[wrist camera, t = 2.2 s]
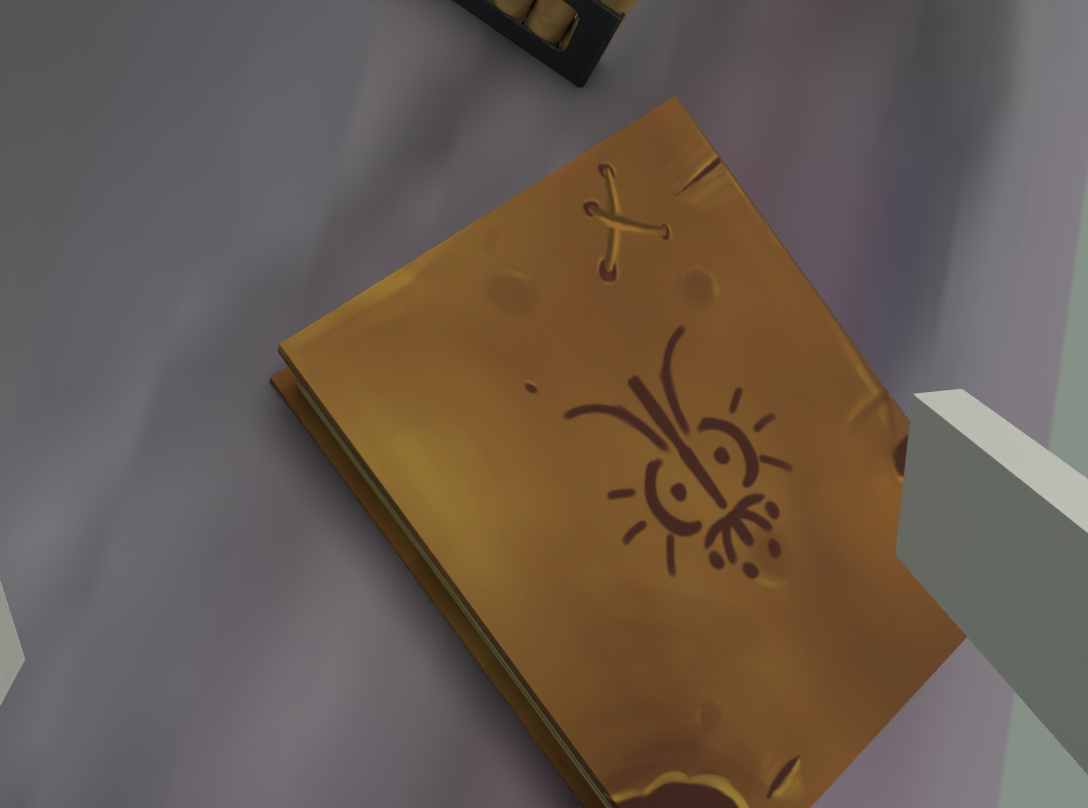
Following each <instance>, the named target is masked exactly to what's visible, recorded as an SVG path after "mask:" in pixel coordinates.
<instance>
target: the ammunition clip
mask: <svg viewBox="0 0 1088 808" xmlns="http://www.w3.org/2000/svg"><path fill="white" fill-rule="evenodd" d="M453 1H454V2H456V3H457V4H459V5H460V6H462V7H463V8H465V9H466V10H467V11H469V12H470V13H472V14H473V15H475V16H476V17H478V18H479V19H480V20H482V21H483V22H485V23H486V24H488V25H489V26H491V27H492V28H493V29H495V30H496V31H498V32H499V33H501V34H502V35H504V36H505V37H506V38H508V39H509V40H511V41H512V42H514V43H515V44H517V45H518V46H519V47H521V48H522V49H524V50H525V51H527V52H528V53H530V54H531V55H532V56H534V57H535V58H537V59H538V60H540V61H541V62H543V63H544V64H545V65H547V66H548V67H550V68H551V69H553V70H554V71H556V72H557V73H558V74H560V75H561V76H563V77H564V78H566V79H567V80H569V81H570V82H571V83H573V84H574V85H576V86H577V87H580V86H584V85H585V83H586V81H587V80H588V78H589V76H590V75H591V73H592V71H593V70H594V68H595V66H596V65H597V63H598V61H599V60H600V58H601V56H602V55H603V53H604V51H605V49H606V48H607V46H608V44H609V43H610V41H611V40H612V38H613V37H614V35H615V34H616V32H617V31H618V29H619V28H620V27H621V25H622V24H623V22H624V21H625V19H626V18H627V16H628V15H629V13H630V12H631V10H632V9H633V8H634V6H635V5H636V3H637V2H638V0H453ZM576 14H578V15H577V17H576V19H575V18H574V17H575V16H576Z"/></svg>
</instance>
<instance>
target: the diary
mask: <svg viewBox="0 0 1088 808" xmlns="http://www.w3.org/2000/svg"><path fill="white" fill-rule="evenodd" d="M278 353H279V354H280V355H281V357H282V358H283V360H284V361H285V362H286V364H287V365H288V367H286V368H285V369H283V370H282V371H280V372H278V373H277V374H275V375H274V376H272V377H271V378H270V381H271V383H272V384H273V385H274V387H275V388H276V390H277V391H278V392H279V394H280V395H281V396H282V398H283V399H284V400H285V402H286V403H287V404H288V406H289V407H290V409H291V410H292V411H293V413H294V414H295V415H296V417H297V418H298V419H299V421H300V422H301V424H302V425H303V426H304V428H305V429H306V430H307V432H308V433H309V434H310V436H311V437H312V439H313V440H314V441H315V443H316V444H317V445H318V447H319V448H320V449H321V451H322V452H323V454H324V455H325V456H326V458H327V459H328V460H329V462H330V463H331V464H332V466H333V467H334V468H335V470H336V471H337V473H338V474H339V475H340V477H341V478H342V479H343V481H344V482H345V483H346V485H347V486H348V488H349V489H350V490H351V492H352V493H353V494H354V496H355V497H356V498H357V500H358V501H359V503H360V504H361V505H362V507H363V508H364V509H365V511H366V512H367V513H368V515H369V516H370V517H371V519H372V520H373V522H374V523H375V524H376V526H377V527H378V528H379V530H380V531H381V532H382V534H383V535H384V537H385V538H386V539H387V541H388V542H389V543H390V545H391V546H392V547H393V549H394V550H395V552H396V553H397V554H398V556H399V557H400V558H401V560H402V561H403V562H404V564H405V565H406V567H407V568H408V569H409V571H410V572H411V573H412V575H413V576H414V577H415V579H416V580H417V581H418V583H419V584H420V586H421V587H422V588H423V590H424V591H425V592H426V594H427V595H428V596H429V598H430V599H431V601H432V602H433V603H434V605H435V606H436V607H437V609H438V610H439V611H440V613H441V614H442V616H443V617H444V618H445V620H446V621H447V622H448V624H449V625H450V626H451V628H452V629H453V630H454V632H455V633H456V635H457V636H458V637H459V639H460V640H461V641H462V643H463V644H464V645H465V647H466V648H467V650H468V651H469V652H470V654H471V655H472V656H473V658H474V659H475V660H476V662H477V663H478V665H479V666H480V667H481V669H482V670H483V671H484V673H485V674H486V675H487V677H488V678H489V680H490V681H491V682H492V684H493V685H494V686H495V688H496V689H497V690H498V692H499V693H500V694H501V696H502V697H503V699H504V700H505V701H506V703H507V704H508V705H509V707H510V708H511V709H512V711H513V712H514V714H515V715H516V716H517V718H518V719H519V720H520V722H521V723H522V724H523V726H524V727H525V729H526V730H527V731H528V733H529V734H530V735H531V737H532V738H533V739H534V741H535V742H536V744H537V745H538V746H539V748H540V749H541V750H542V752H543V753H544V754H545V756H546V757H547V758H548V760H549V761H550V763H551V764H552V765H553V767H554V768H555V769H556V771H557V772H558V773H559V775H560V776H561V778H562V779H563V780H564V782H565V783H566V784H567V786H568V787H569V788H570V790H571V791H572V793H573V794H574V795H575V797H576V798H577V799H578V801H579V802H580V803H581V805H582V806H583V807H584V808H811V807H812V805H813V804H814V803H815V802H816V801H817V800H818V799H819V798H820V797H821V796H822V795H823V793H824V792H825V791H826V790H827V789H828V788H829V787H830V786H831V785H832V784H833V783H834V781H835V780H836V779H837V778H838V777H839V776H840V775H841V774H842V773H843V772H844V771H845V769H846V768H847V767H848V766H849V765H850V764H851V763H852V762H853V761H854V760H855V759H856V757H857V756H858V755H859V754H860V753H861V752H862V751H863V750H864V749H865V748H866V747H867V745H868V744H869V743H870V742H871V741H872V740H873V739H874V738H875V737H876V736H877V735H878V733H879V732H880V731H881V730H882V729H883V728H884V727H885V726H886V725H887V724H888V723H889V721H890V720H891V719H892V718H893V717H894V716H895V715H896V714H897V713H898V712H899V711H900V709H901V708H902V707H903V706H904V705H905V704H906V703H907V702H908V701H909V700H910V698H911V697H912V696H913V695H914V694H915V693H916V692H917V691H918V690H919V689H920V688H921V686H922V685H923V684H924V683H925V682H926V681H927V680H928V679H929V678H930V677H931V676H932V674H933V673H934V672H935V671H936V670H937V669H938V668H939V667H940V666H941V665H942V664H943V662H944V661H945V660H946V659H947V658H948V657H949V656H950V655H951V654H952V653H953V652H954V650H955V649H956V648H957V647H958V646H959V645H960V644H961V643H962V642H963V641H964V640H965V638H966V637H967V636H966V635H965V634H964V633H963V632H962V630H961V629H960V628H959V627H958V626H957V625H956V624H955V622H954V621H953V620H952V619H951V618H950V617H949V616H948V614H947V613H946V612H945V611H944V610H943V609H942V608H941V606H940V605H939V604H938V603H937V602H936V601H935V600H934V598H933V597H932V596H931V595H930V594H929V593H928V592H927V590H926V589H925V588H924V587H923V586H922V585H921V584H920V582H919V581H918V580H917V579H916V578H915V577H914V576H913V574H912V573H911V572H910V571H909V570H908V569H907V568H906V566H905V565H904V564H903V563H902V562H901V561H900V560H899V558H898V557H897V556H896V555H895V552H896V543H897V534H898V525H899V516H900V507H901V498H902V489H903V480H904V471H905V461H906V452H907V443H908V434H909V425H910V421H909V420H908V418H907V417H906V416H905V414H904V413H903V411H902V410H901V409H900V407H899V406H898V404H897V403H896V402H895V400H894V399H893V397H892V396H891V395H890V393H889V392H888V390H887V389H886V388H885V386H884V385H883V384H882V382H881V381H880V379H879V378H878V377H877V375H876V374H875V372H874V371H873V370H872V368H871V367H870V365H869V364H868V363H867V361H866V360H865V358H864V357H863V356H862V354H861V353H860V351H859V350H858V349H857V347H856V346H855V344H854V343H853V342H852V340H851V339H850V337H849V336H848V335H847V333H846V332H845V330H844V329H843V328H842V326H841V325H840V323H839V322H838V321H837V319H836V318H835V316H834V315H833V314H832V312H831V311H830V309H829V308H828V307H827V305H826V304H825V302H824V301H823V300H822V298H821V297H820V295H819V294H818V293H817V291H816V290H815V288H814V287H813V286H812V284H811V283H810V282H809V280H808V279H807V277H806V276H805V275H804V273H803V272H802V270H801V269H800V268H799V266H798V265H797V263H796V262H795V261H794V259H793V258H792V256H791V255H790V254H789V252H788V251H787V249H786V248H785V247H784V245H783V244H782V242H781V241H780V240H779V238H778V237H777V235H776V234H775V233H774V231H773V230H772V228H771V227H770V226H769V224H768V223H767V221H766V220H765V219H764V217H763V216H762V214H761V213H760V212H759V210H758V209H757V207H756V206H755V205H754V203H753V202H752V200H751V199H750V198H749V196H748V195H747V193H746V192H745V191H744V189H743V188H742V187H741V185H740V184H739V182H738V181H737V180H736V178H735V177H734V175H733V174H732V173H731V171H730V170H729V168H728V167H727V166H726V164H725V163H724V161H723V160H722V159H721V157H720V156H719V154H718V153H717V152H716V150H715V149H714V147H713V146H712V145H711V143H710V142H709V140H708V139H707V138H706V136H705V135H704V133H703V132H702V131H701V129H700V128H699V126H698V125H697V124H696V122H695V121H694V119H693V118H692V117H691V115H690V114H689V112H688V111H687V110H686V108H685V107H684V105H683V104H682V103H681V101H680V100H679V99H678V98H677V97H675V96H674V97H672V98H671V99H669V100H668V101H666V102H665V103H663V104H661V105H660V106H658V107H657V108H655V109H653V110H652V111H650V112H649V113H647V114H645V115H644V116H642V117H641V118H639V119H637V120H636V121H634V122H633V123H631V124H629V125H628V126H626V127H625V128H623V129H622V130H620V131H618V132H617V133H615V134H614V135H612V136H610V137H609V138H607V139H606V140H604V141H602V142H601V143H599V144H598V145H596V146H594V147H593V148H591V149H590V150H588V151H586V152H585V153H583V154H582V155H580V156H578V157H577V158H575V159H574V160H572V161H571V162H569V163H567V164H566V165H564V166H563V167H561V168H559V169H558V170H556V171H555V172H553V173H551V174H550V175H548V176H547V177H545V178H543V179H542V180H540V181H539V182H537V183H535V184H534V185H532V186H531V187H529V188H528V189H526V190H524V191H523V192H521V193H520V194H518V195H516V196H515V197H513V198H512V199H510V200H508V201H507V202H505V203H504V204H502V205H500V206H499V207H497V208H496V209H494V210H492V211H491V212H489V213H488V214H486V215H484V216H483V217H481V218H480V219H478V220H477V221H475V222H473V223H472V224H470V225H469V226H467V227H465V228H464V229H462V230H461V231H459V232H457V233H456V234H454V235H453V236H451V237H449V238H448V239H446V240H445V241H443V242H441V243H440V244H438V245H437V246H435V247H434V248H432V249H430V250H429V251H427V252H426V253H424V254H422V255H421V256H419V257H418V258H416V259H414V260H413V261H411V262H410V263H408V264H406V265H405V266H403V267H402V268H400V269H398V270H397V271H395V272H394V273H392V274H390V275H389V276H387V277H386V278H384V279H383V280H381V281H379V282H378V283H376V284H375V285H373V286H371V287H370V288H368V289H367V290H365V291H363V292H362V293H360V294H359V295H357V296H355V297H354V298H352V299H351V300H349V301H347V302H346V303H344V304H343V305H341V306H340V307H338V308H336V309H335V310H333V311H332V312H330V313H328V314H327V315H325V316H324V317H322V318H320V319H319V320H317V321H316V322H314V323H312V324H311V325H309V326H308V327H306V328H304V329H303V330H301V331H300V332H298V333H296V334H295V335H293V336H292V337H290V338H289V339H287V340H285V341H284V342H282V343H281V344H279V348H278Z"/></svg>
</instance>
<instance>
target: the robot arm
mask: <svg viewBox="0 0 1088 808" xmlns="http://www.w3.org/2000/svg"><path fill="white" fill-rule="evenodd" d="M895 555H896V556H897V557H898V558H899V560H900V561H901V562H902V563H903V564H904V565H905V566H906V568H907V569H908V570H909V571H910V572H911V573H912V574H913V576H914V577H915V578H916V579H917V580H918V581H919V582H920V584H921V585H922V586H923V587H924V588H925V589H926V590H927V592H928V593H929V594H930V595H931V596H932V597H933V598H934V600H935V601H936V602H937V603H938V604H939V605H940V606H941V608H942V609H943V610H944V611H945V612H946V613H947V614H948V616H949V617H950V618H951V619H952V620H953V621H954V622H955V624H956V625H957V626H958V627H959V628H960V629H961V630H962V632H963V633H964V634H965V635H966V636H967V637H968V638H969V640H970V641H971V642H972V643H973V644H974V645H975V646H976V648H977V649H978V650H979V651H980V652H981V653H982V654H983V656H984V657H985V658H986V659H987V660H988V661H989V662H990V664H991V665H992V666H993V667H994V668H995V669H996V670H997V672H998V673H999V674H1000V675H1001V676H1002V677H1003V678H1004V680H1005V681H1006V682H1007V683H1008V684H1009V685H1010V686H1011V688H1012V689H1013V690H1014V691H1015V692H1016V693H1017V694H1018V696H1019V697H1020V698H1021V699H1022V700H1023V701H1024V702H1025V704H1026V705H1027V706H1028V707H1029V708H1030V709H1031V710H1032V711H1033V712H1034V714H1035V715H1036V716H1037V717H1038V718H1039V719H1040V721H1041V722H1042V723H1043V724H1044V725H1045V726H1046V728H1047V729H1048V730H1049V731H1050V732H1051V733H1052V734H1053V735H1054V737H1055V738H1056V739H1057V740H1058V741H1059V742H1060V743H1061V745H1062V746H1063V747H1064V748H1065V749H1066V750H1067V751H1068V753H1069V754H1070V755H1071V756H1072V757H1073V758H1074V760H1075V761H1076V762H1077V763H1078V764H1079V765H1080V766H1081V768H1082V769H1083V770H1084V771H1085V772H1086V773H1087V774H1088V479H1087V478H1085V477H1084V476H1083V475H1081V474H1080V473H1079V472H1077V471H1076V470H1074V469H1073V468H1072V467H1070V466H1069V465H1067V464H1066V463H1065V462H1063V461H1062V460H1060V459H1059V458H1058V457H1056V456H1055V455H1054V454H1052V453H1051V452H1049V451H1048V450H1047V449H1045V448H1044V447H1042V446H1041V445H1040V444H1038V443H1037V442H1035V441H1034V440H1033V439H1031V438H1030V437H1028V436H1027V435H1026V434H1024V433H1023V432H1021V431H1020V430H1019V429H1017V428H1016V427H1015V426H1013V425H1012V424H1010V423H1009V422H1008V421H1006V420H1005V419H1003V418H1002V417H1001V416H999V415H998V414H996V413H995V412H994V411H992V410H991V409H989V408H988V407H987V406H985V405H984V404H982V403H981V402H980V401H978V400H977V399H976V398H974V397H973V396H971V395H970V394H969V393H967V392H966V391H964V390H963V389H956V390H947V391H937V392H927V393H917V394H913V398H912V407H911V416H910V425H909V434H908V443H907V452H906V461H905V471H904V480H903V489H902V498H901V507H900V516H899V525H898V534H897V543H896V552H895ZM24 661H25V658H24V654H23V651H22V648H21V645H20V642H19V639H18V635H17V632H16V629H15V626H14V623H13V619H12V616H11V613H10V610H9V607H8V603H7V600H6V597H5V594H4V591H3V587H2V584H1V581H0V705H1V703H2V702H3V700H4V698H5V696H6V694H7V692H8V690H9V689H10V687H11V685H12V683H13V681H14V679H15V677H16V676H17V674H18V672H19V670H20V668H21V666H22V664H23V663H24Z"/></svg>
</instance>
